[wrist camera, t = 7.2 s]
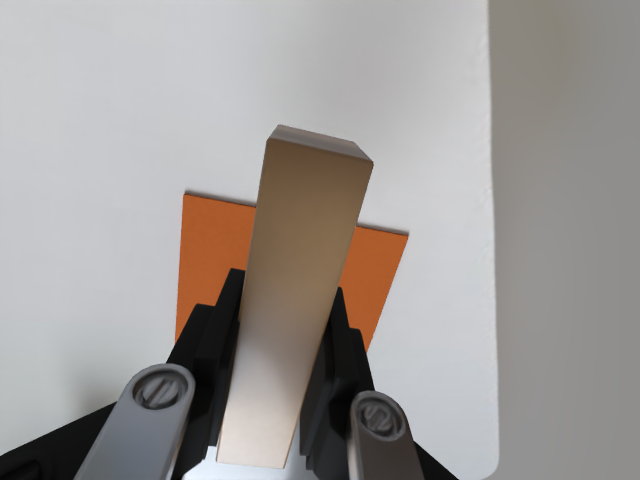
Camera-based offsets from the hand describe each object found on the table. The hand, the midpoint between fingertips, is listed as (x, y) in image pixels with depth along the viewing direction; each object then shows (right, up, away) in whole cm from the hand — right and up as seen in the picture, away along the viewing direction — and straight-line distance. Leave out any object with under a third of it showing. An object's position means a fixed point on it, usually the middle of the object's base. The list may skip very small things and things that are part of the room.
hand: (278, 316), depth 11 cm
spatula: (-1, -2, +1) cm, 2 cm away
